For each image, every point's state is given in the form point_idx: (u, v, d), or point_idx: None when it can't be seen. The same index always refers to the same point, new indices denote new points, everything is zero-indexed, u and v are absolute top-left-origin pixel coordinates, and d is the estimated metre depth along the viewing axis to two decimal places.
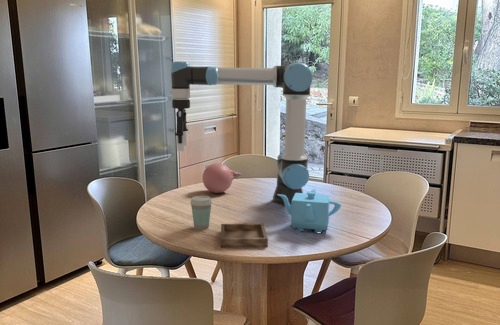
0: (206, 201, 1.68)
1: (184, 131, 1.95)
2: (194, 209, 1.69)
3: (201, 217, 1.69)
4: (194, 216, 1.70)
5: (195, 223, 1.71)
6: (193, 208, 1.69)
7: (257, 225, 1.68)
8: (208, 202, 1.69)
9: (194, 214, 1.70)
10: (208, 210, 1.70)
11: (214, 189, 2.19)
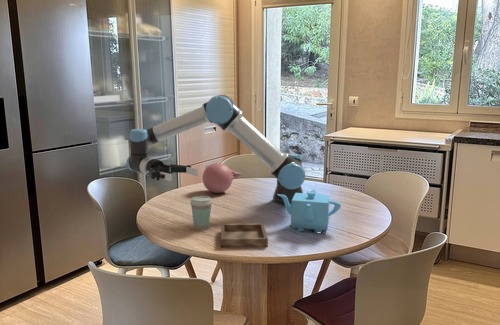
0: (206, 201, 1.68)
1: None
2: (194, 209, 1.69)
3: (201, 217, 1.69)
4: (194, 216, 1.70)
5: (195, 223, 1.71)
6: (193, 208, 1.69)
7: (257, 225, 1.68)
8: (208, 202, 1.69)
9: (194, 214, 1.70)
10: (208, 210, 1.70)
11: (214, 189, 2.19)
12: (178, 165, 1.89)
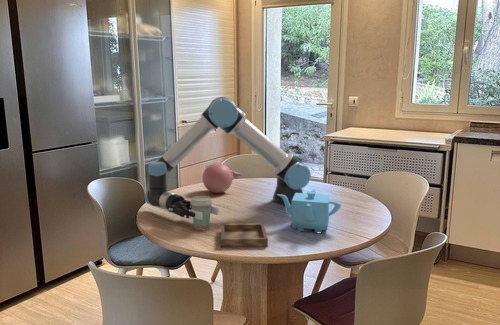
0: (206, 201, 1.68)
1: None
2: (194, 209, 1.69)
3: None
4: None
5: (195, 223, 1.71)
6: (193, 208, 1.69)
7: (257, 225, 1.68)
8: (208, 202, 1.69)
9: None
10: (208, 210, 1.70)
11: (214, 189, 2.19)
12: None
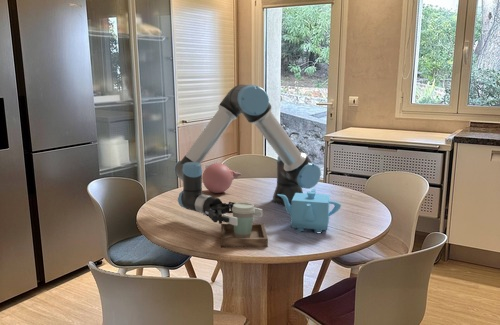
0: (249, 209, 1.56)
1: None
2: (236, 217, 1.57)
3: (243, 226, 1.57)
4: None
5: (236, 231, 1.59)
6: (235, 216, 1.57)
7: (257, 225, 1.68)
8: (251, 210, 1.57)
9: None
10: (251, 218, 1.58)
11: (214, 189, 2.19)
12: None
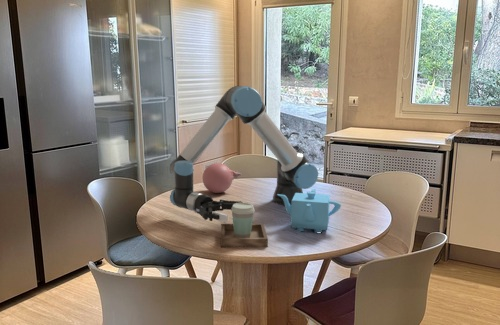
0: (249, 209, 1.56)
1: None
2: (236, 217, 1.57)
3: (243, 226, 1.57)
4: (235, 225, 1.58)
5: (236, 232, 1.59)
6: (234, 216, 1.57)
7: (257, 225, 1.68)
8: (251, 210, 1.57)
9: (235, 223, 1.58)
10: (250, 218, 1.58)
11: (214, 189, 2.19)
12: (228, 201, 1.74)
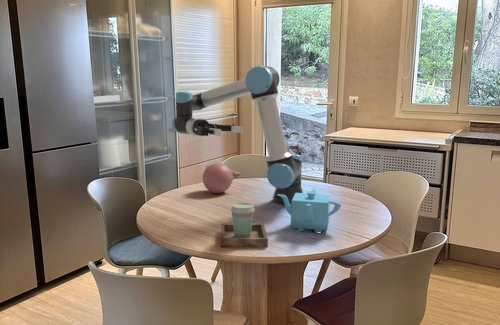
0: (248, 208, 1.56)
1: None
2: (235, 217, 1.57)
3: (242, 226, 1.57)
4: (235, 224, 1.58)
5: (235, 232, 1.59)
6: (234, 216, 1.57)
7: (257, 225, 1.68)
8: (250, 209, 1.57)
9: (235, 222, 1.58)
10: (250, 218, 1.58)
11: (214, 189, 2.19)
12: (223, 125, 1.98)
